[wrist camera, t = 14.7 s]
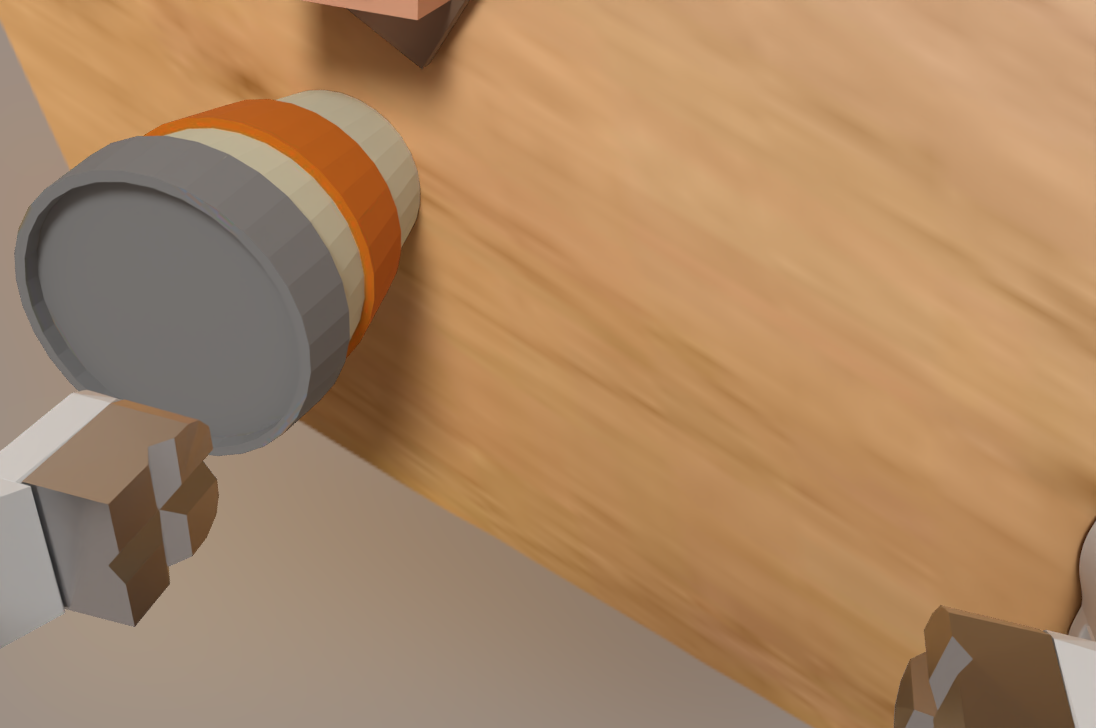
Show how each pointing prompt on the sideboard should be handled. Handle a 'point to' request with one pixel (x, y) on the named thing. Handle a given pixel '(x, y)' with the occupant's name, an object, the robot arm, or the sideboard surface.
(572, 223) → the sideboard surface
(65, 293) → the reusable coffee cup
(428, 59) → the base
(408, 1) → the pink square socket block
